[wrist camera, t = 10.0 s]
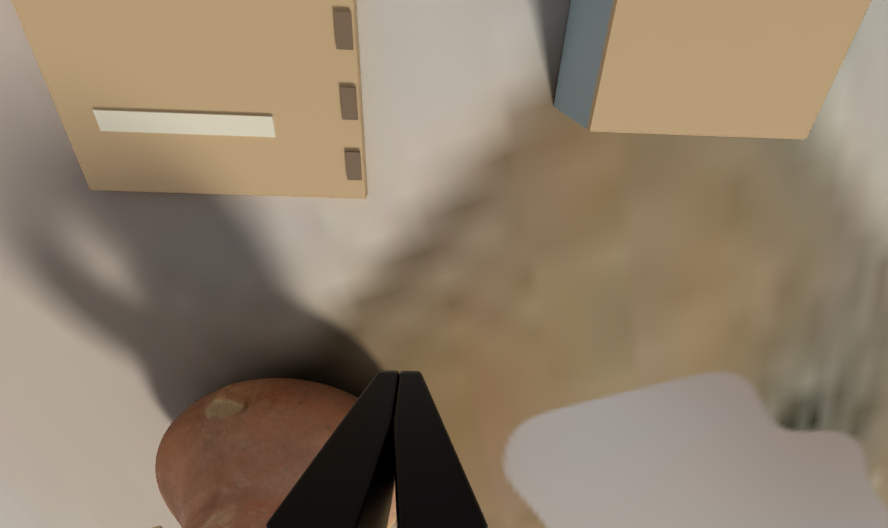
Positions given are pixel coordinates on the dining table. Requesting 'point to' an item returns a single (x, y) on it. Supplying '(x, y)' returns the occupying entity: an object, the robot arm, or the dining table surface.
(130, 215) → the dining table surface
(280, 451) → the ceramic jug
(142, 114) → the pad
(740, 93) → the stub
